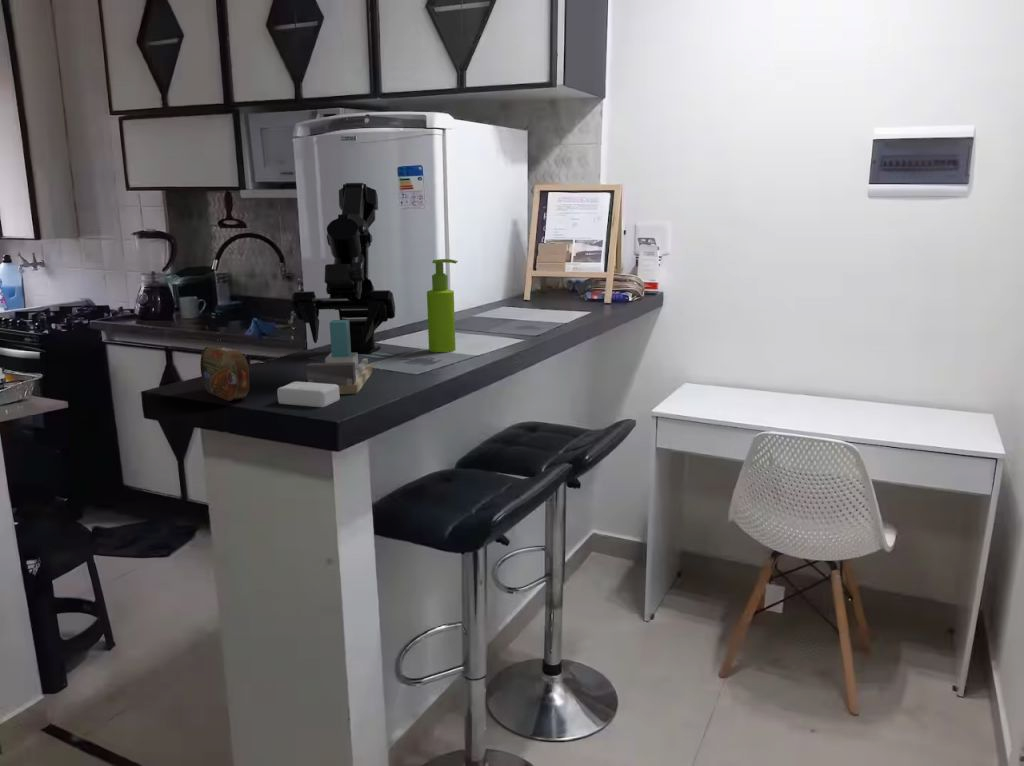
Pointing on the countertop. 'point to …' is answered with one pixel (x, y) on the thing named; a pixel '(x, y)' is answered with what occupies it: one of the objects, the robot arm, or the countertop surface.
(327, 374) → the guide rail
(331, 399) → the soap
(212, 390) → the tin
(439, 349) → the soap dispenser
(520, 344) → the countertop surface
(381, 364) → the countertop surface
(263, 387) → the countertop surface
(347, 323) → the sliding block
